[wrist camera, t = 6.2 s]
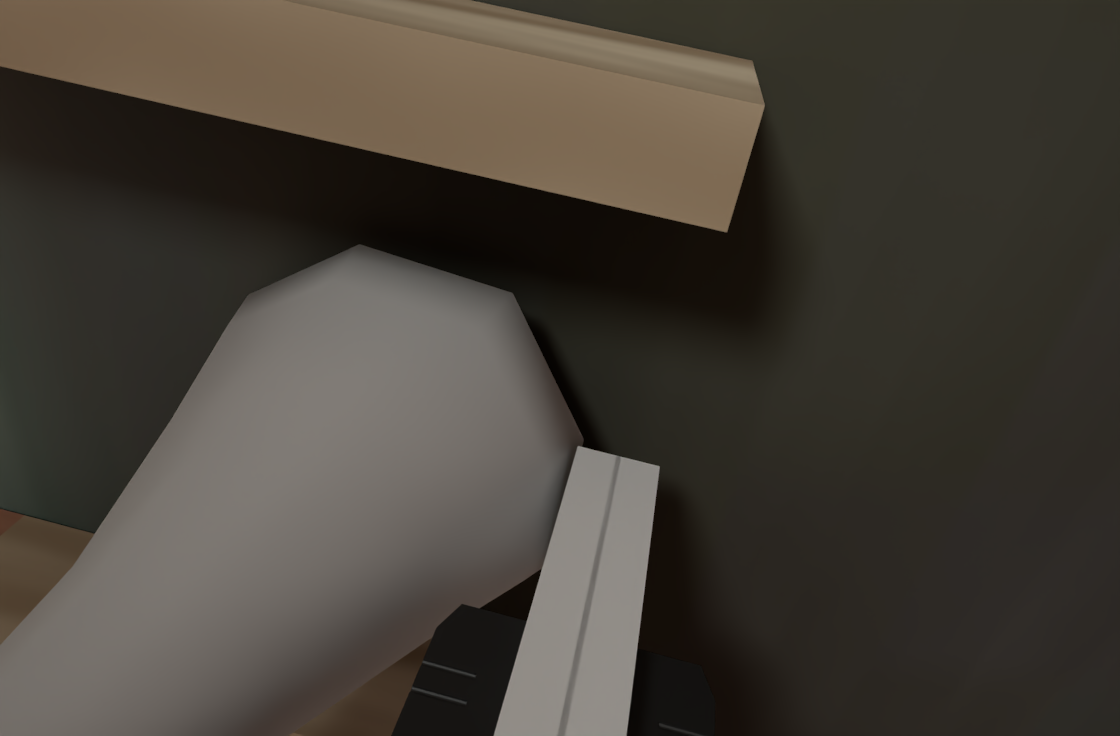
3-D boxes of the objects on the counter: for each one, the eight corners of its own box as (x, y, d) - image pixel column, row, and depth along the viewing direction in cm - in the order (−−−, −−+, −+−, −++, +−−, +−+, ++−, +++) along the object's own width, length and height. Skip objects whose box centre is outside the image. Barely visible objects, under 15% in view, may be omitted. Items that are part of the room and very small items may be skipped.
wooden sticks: (-478, -204, 13) (-839, -245, 10) (752, 60, 12) (764, 106, 9) (-200, 497, 21) (-358, 595, 18) (569, 703, 19) (542, 847, 16)
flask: (609, 592, 16) (303, 1336, 7) (304, 552, 18) (-187, 1066, 10) (563, 232, 13) (-54, 778, 4) (206, 244, 15) (-628, 600, 7)
